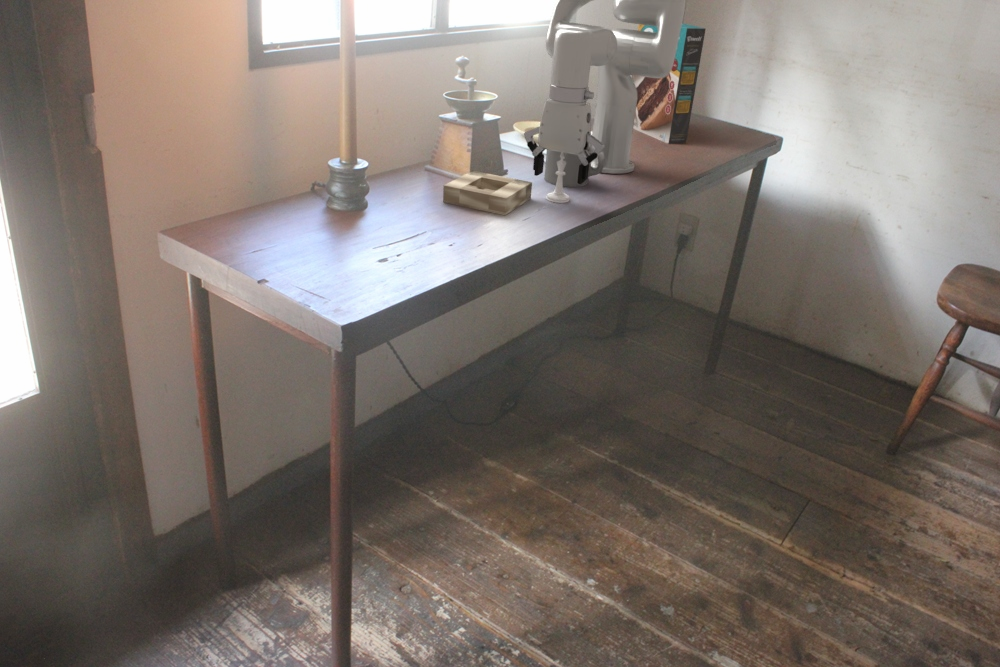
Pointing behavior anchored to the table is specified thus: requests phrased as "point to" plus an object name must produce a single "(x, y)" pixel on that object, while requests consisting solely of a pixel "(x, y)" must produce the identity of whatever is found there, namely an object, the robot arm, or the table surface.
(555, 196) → the chess piece
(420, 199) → the table surface
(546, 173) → the coffee mug
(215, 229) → the table surface
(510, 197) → the socket board
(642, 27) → the cake mix box
